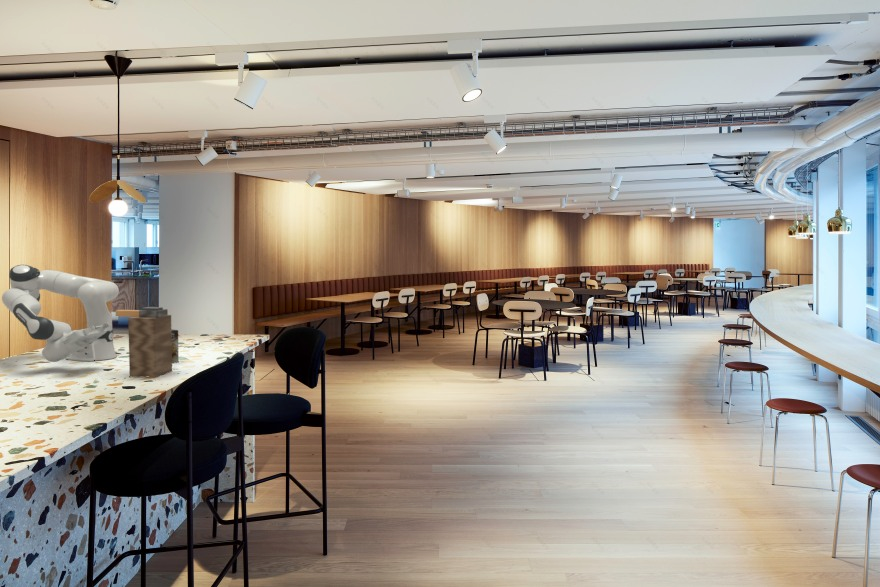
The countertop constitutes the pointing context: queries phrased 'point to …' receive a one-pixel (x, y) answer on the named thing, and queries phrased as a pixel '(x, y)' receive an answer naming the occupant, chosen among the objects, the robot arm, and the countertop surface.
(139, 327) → the stand
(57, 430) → the countertop surface
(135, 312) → the handled tool
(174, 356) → the coffee box
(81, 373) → the countertop surface
